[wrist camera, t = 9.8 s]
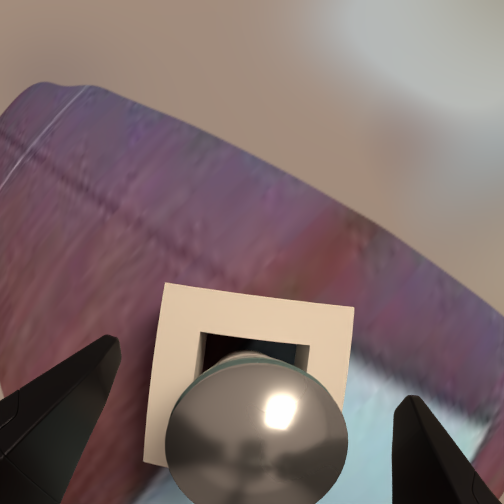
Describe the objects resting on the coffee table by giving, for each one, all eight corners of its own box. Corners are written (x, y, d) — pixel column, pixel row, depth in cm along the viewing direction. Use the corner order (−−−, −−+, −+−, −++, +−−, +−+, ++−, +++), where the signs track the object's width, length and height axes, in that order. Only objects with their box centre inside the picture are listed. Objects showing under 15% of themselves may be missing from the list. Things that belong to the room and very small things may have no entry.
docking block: (312, 459, 18) (328, 482, 14) (159, 441, 18) (143, 461, 14) (333, 313, 20) (354, 307, 17) (178, 293, 20) (165, 282, 17)
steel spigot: (260, 429, 18) (292, 545, 6) (195, 396, 19) (131, 475, 6) (295, 368, 19) (383, 406, 7) (230, 334, 20) (217, 325, 7)
